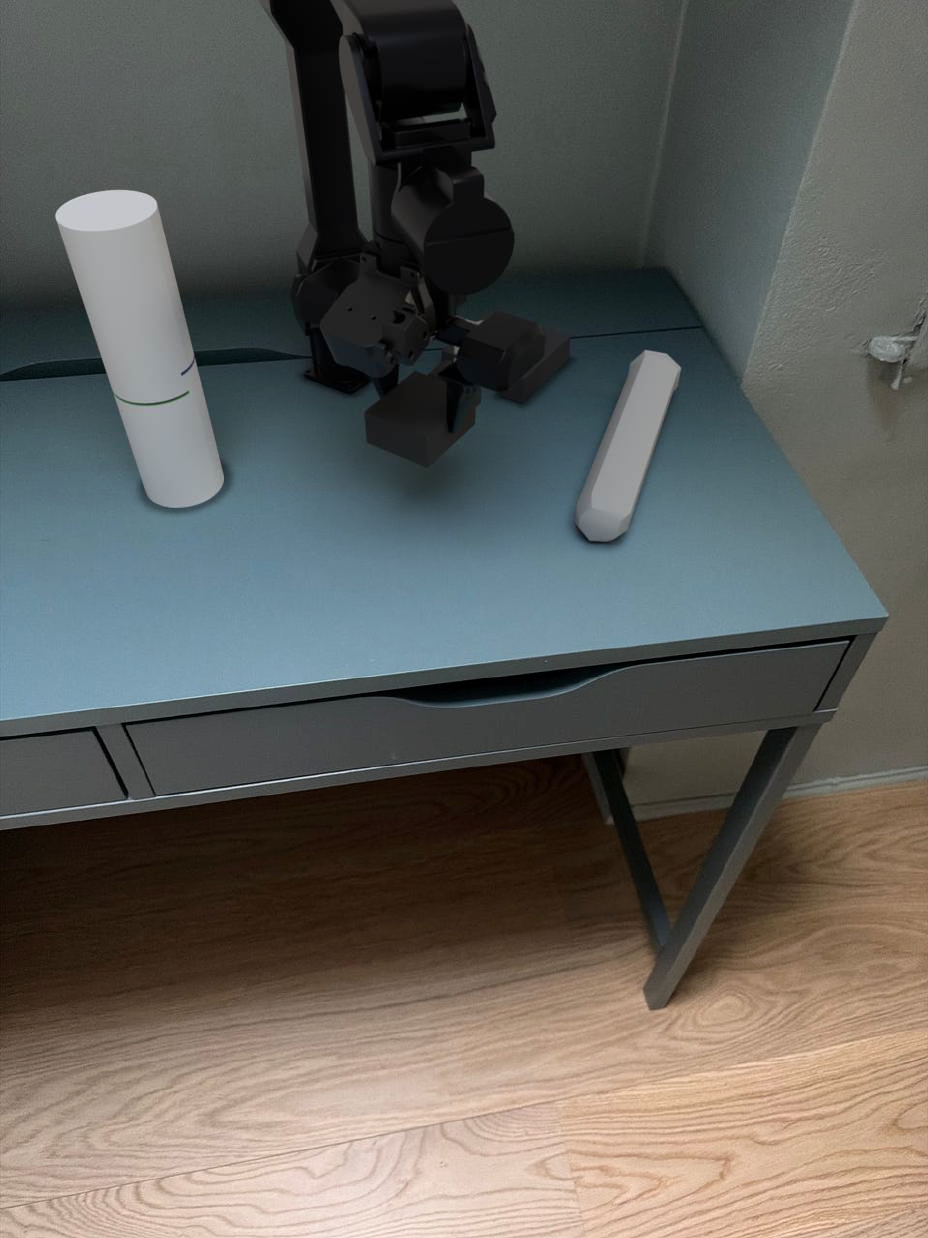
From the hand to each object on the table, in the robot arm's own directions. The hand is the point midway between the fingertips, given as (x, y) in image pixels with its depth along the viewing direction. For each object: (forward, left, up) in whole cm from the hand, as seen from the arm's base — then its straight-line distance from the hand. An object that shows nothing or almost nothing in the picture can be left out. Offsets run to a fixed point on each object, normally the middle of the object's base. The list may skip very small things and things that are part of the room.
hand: (421, 417), depth 72 cm
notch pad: (-7, +25, -11) cm, 28 cm away
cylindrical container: (-22, -8, -11) cm, 25 cm away
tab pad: (0, +1, -1) cm, 2 cm away
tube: (+9, +16, -8) cm, 20 cm away
